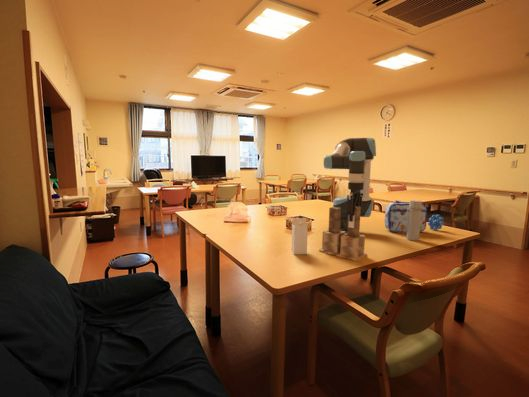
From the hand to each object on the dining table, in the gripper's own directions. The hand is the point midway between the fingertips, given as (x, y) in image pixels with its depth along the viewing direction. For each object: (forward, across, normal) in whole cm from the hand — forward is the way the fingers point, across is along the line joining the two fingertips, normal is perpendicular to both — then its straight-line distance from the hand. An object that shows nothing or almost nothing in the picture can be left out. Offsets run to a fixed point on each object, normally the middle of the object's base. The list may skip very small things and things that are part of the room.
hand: (353, 226), depth 148 cm
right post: (+12, 0, 0) cm, 12 cm away
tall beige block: (+16, +55, -14) cm, 59 cm away
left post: (+14, 0, +11) cm, 18 cm away
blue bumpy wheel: (+16, +93, -20) cm, 96 cm away
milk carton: (+16, -15, +24) cm, 32 cm away
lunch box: (+16, +73, -4) cm, 75 cm away
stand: (+16, 0, +6) cm, 17 cm away
